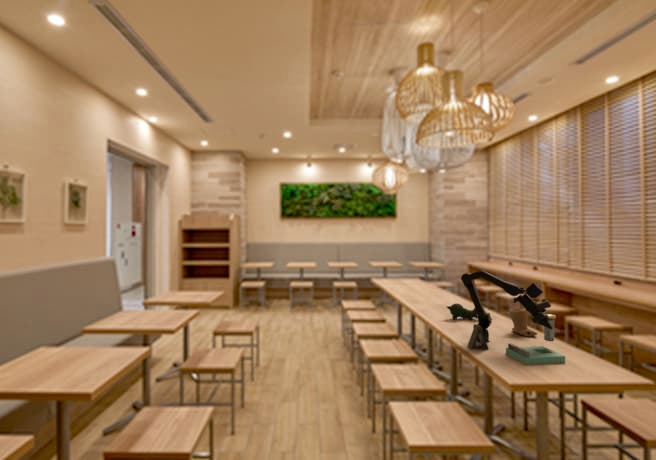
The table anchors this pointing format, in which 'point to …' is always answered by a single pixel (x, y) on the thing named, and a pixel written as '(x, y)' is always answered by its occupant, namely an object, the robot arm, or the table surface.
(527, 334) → the tan boot
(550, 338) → the metal peg
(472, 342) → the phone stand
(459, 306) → the toy figurine
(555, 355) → the jig
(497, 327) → the table surface
